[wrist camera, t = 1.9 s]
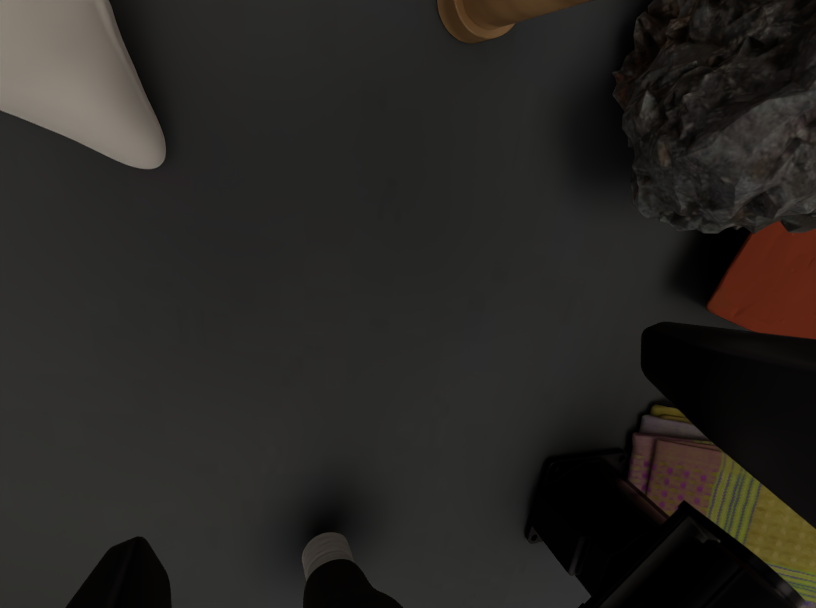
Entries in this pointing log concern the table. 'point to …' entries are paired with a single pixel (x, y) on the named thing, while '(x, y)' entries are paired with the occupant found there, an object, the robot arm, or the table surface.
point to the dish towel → (721, 495)
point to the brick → (771, 284)
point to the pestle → (493, 15)
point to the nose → (77, 78)
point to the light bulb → (337, 577)
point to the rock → (723, 114)
